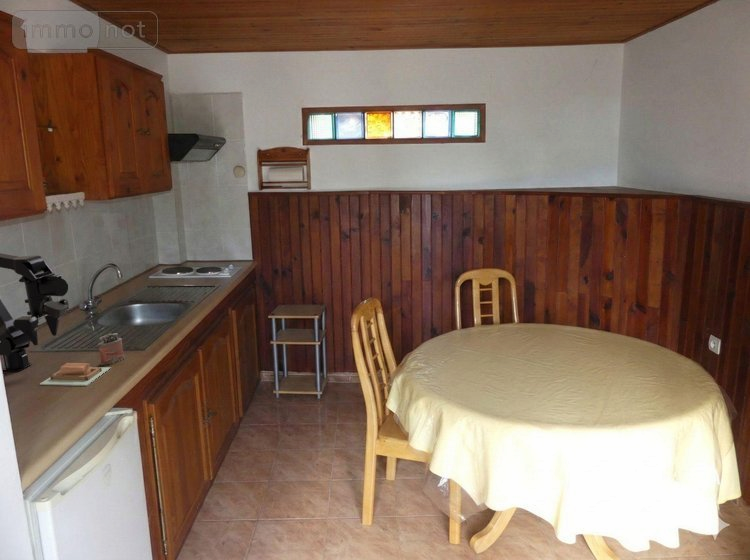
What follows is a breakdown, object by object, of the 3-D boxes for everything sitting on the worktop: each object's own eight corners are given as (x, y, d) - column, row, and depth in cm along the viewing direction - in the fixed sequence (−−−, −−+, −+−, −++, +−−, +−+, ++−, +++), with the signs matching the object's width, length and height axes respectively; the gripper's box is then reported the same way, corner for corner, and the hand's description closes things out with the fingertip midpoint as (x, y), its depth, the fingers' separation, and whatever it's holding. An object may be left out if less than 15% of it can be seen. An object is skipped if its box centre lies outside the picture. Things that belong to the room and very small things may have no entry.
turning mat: (39, 384, 184) (39, 380, 184) (67, 367, 198) (66, 363, 197) (86, 385, 182) (85, 381, 182) (111, 368, 196) (110, 364, 195)
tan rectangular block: (84, 377, 188) (83, 367, 187) (61, 377, 189) (60, 367, 188) (91, 373, 191) (89, 363, 190) (68, 372, 192) (66, 363, 191)
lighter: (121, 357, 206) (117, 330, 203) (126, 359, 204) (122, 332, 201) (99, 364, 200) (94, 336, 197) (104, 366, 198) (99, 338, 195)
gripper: (40, 303, 179) (49, 350, 183) (77, 287, 197) (84, 331, 201) (7, 303, 180) (16, 350, 184) (47, 287, 198) (55, 330, 202)
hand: (45, 340), depth 193 cm, fingers open, 9 cm apart
